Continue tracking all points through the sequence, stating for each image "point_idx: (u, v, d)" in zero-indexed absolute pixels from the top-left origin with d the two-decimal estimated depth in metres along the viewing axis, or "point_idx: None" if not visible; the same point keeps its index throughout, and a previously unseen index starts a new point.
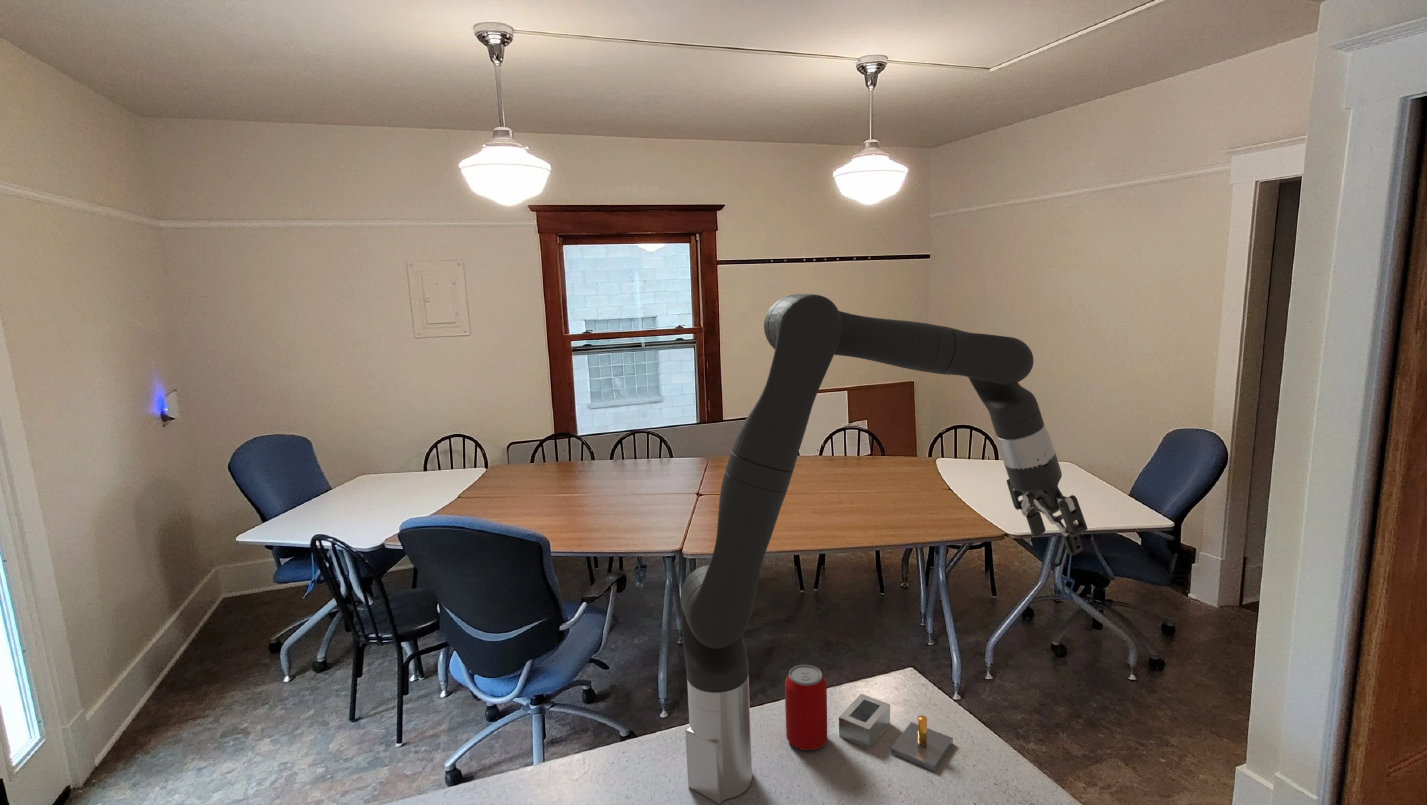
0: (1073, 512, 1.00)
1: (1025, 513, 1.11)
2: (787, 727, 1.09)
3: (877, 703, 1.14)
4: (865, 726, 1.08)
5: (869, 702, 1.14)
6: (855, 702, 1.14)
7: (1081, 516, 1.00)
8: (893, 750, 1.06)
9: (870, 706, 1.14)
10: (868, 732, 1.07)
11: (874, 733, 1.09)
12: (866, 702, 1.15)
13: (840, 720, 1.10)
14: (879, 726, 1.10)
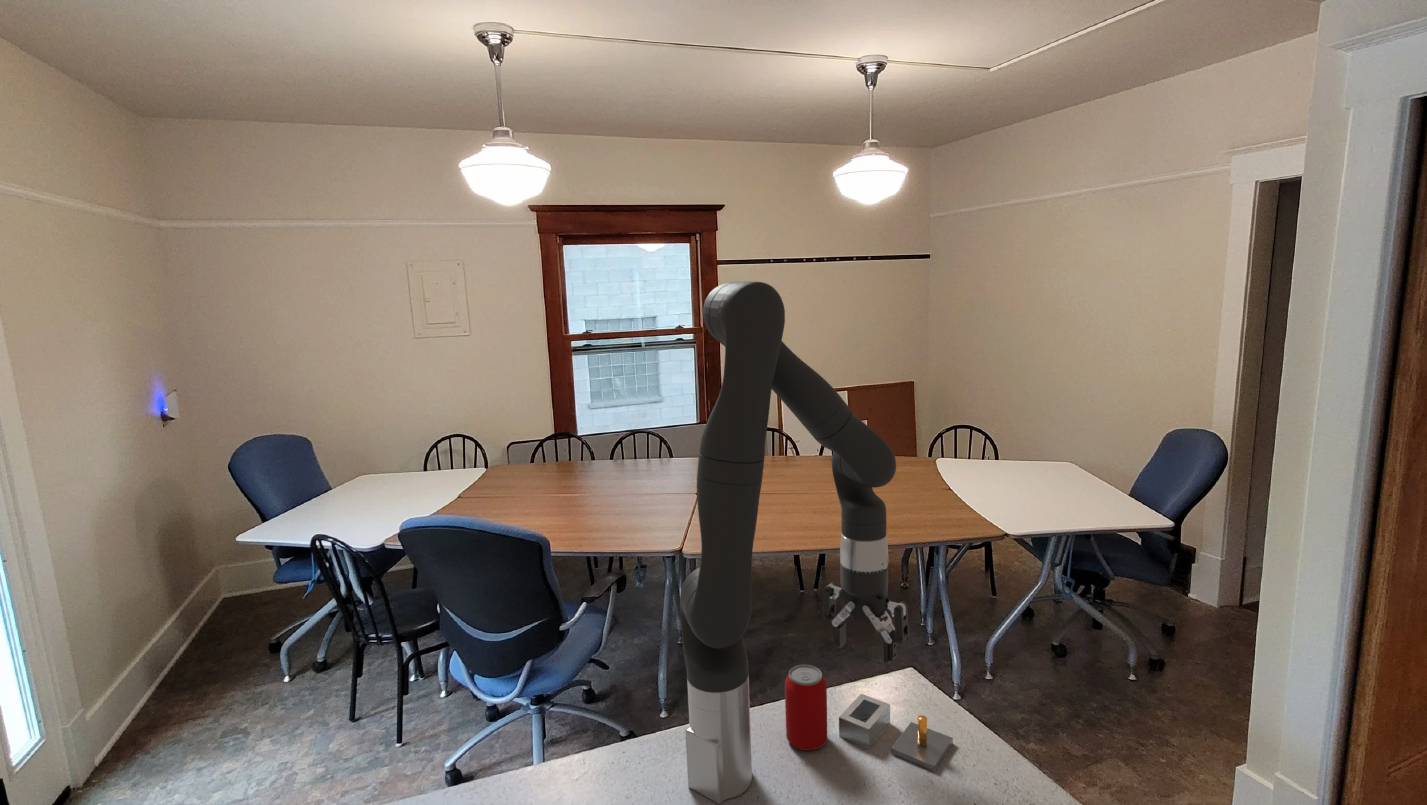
0: None
1: (837, 623, 1.11)
2: (787, 727, 1.09)
3: (877, 703, 1.14)
4: (865, 726, 1.08)
5: (869, 702, 1.14)
6: (855, 702, 1.14)
7: (907, 622, 1.05)
8: (893, 750, 1.06)
9: (870, 706, 1.14)
10: (868, 732, 1.07)
11: (874, 733, 1.09)
12: (866, 702, 1.15)
13: (840, 720, 1.10)
14: (879, 726, 1.10)
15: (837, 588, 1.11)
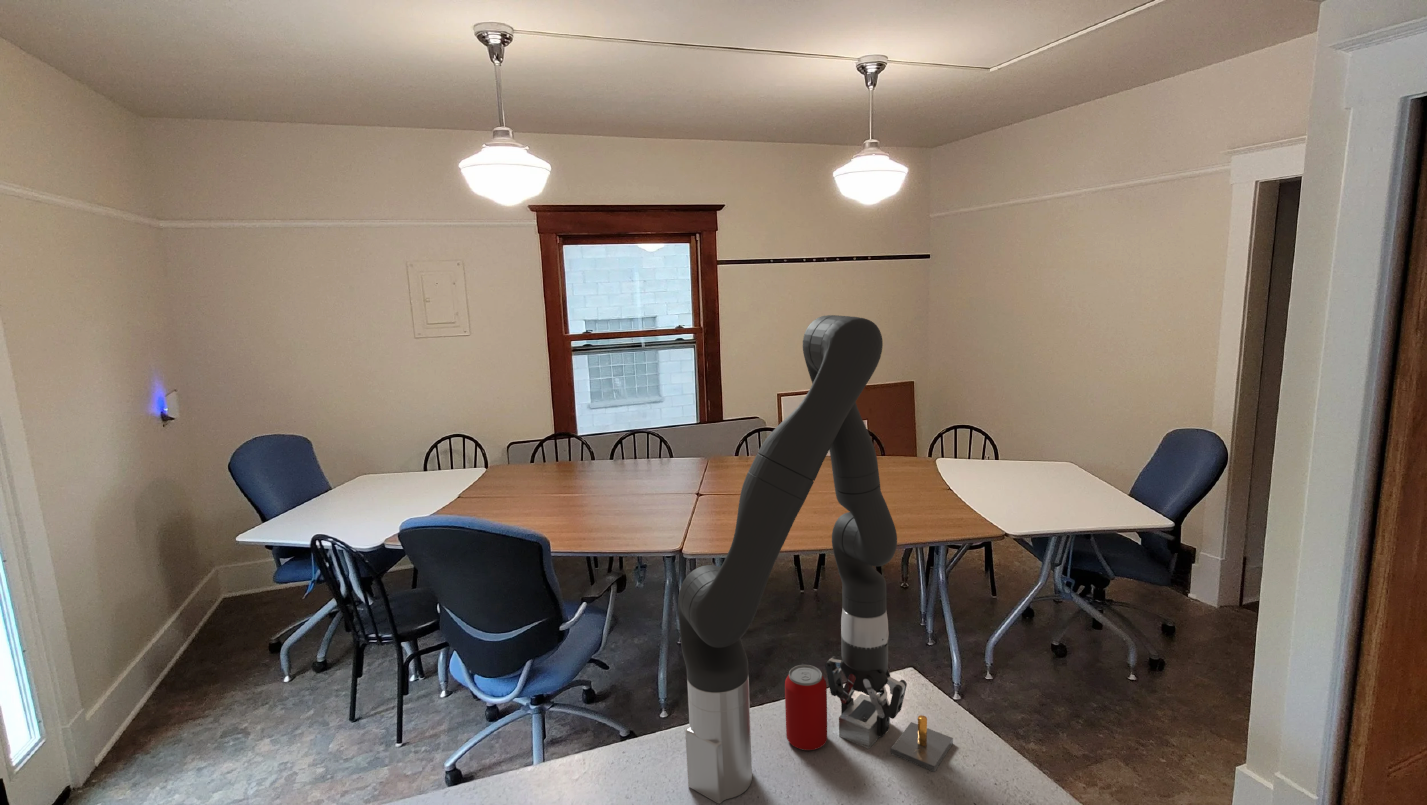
0: None
1: (845, 699, 1.12)
2: (787, 727, 1.09)
3: None
4: (865, 726, 1.08)
5: (869, 702, 1.14)
6: (855, 702, 1.14)
7: (902, 700, 1.08)
8: (893, 750, 1.06)
9: (870, 706, 1.14)
10: (868, 732, 1.07)
11: (874, 733, 1.09)
12: (866, 702, 1.15)
13: (840, 720, 1.10)
14: None
15: (838, 661, 1.13)
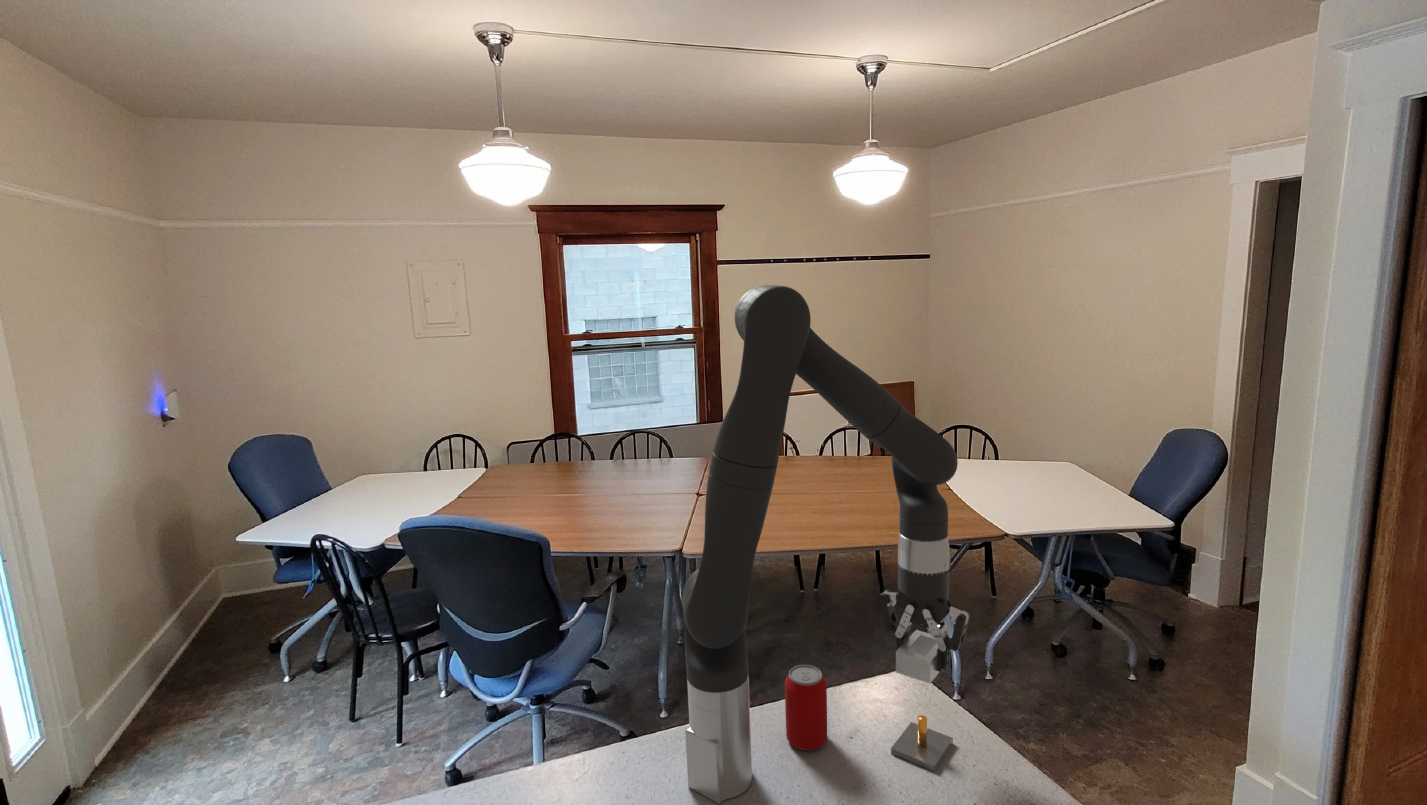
0: None
1: (901, 634, 1.05)
2: (787, 727, 1.09)
3: None
4: (925, 659, 1.00)
5: (926, 637, 1.07)
6: (911, 637, 1.07)
7: (965, 631, 1.00)
8: (893, 750, 1.06)
9: (927, 642, 1.07)
10: (929, 665, 1.00)
11: (934, 667, 1.01)
12: (923, 638, 1.07)
13: (897, 654, 1.03)
14: None
15: (893, 593, 1.06)
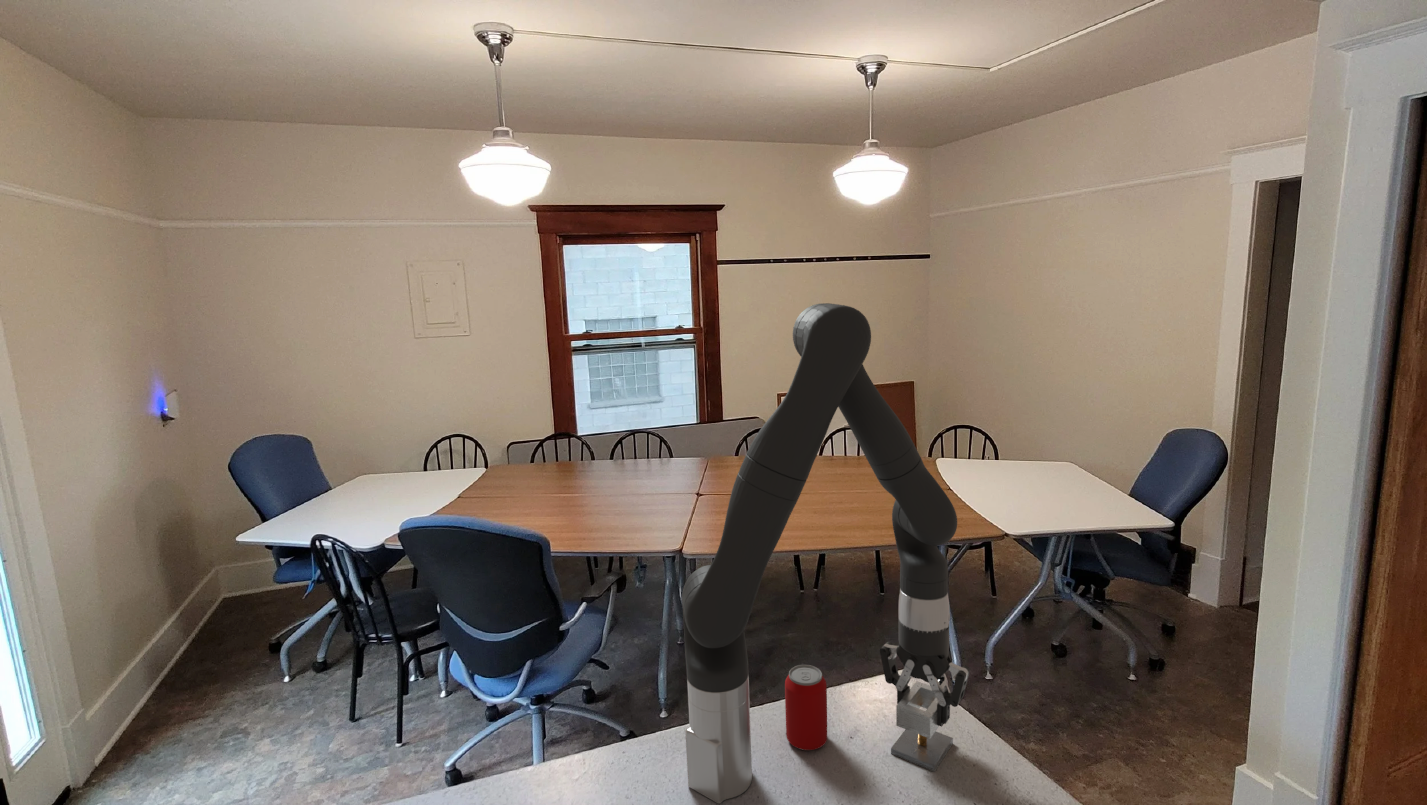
0: None
1: (902, 687, 1.06)
2: (787, 727, 1.09)
3: None
4: (926, 714, 1.02)
5: (926, 690, 1.08)
6: (912, 690, 1.08)
7: (965, 687, 1.02)
8: (893, 750, 1.06)
9: (927, 694, 1.08)
10: (929, 721, 1.01)
11: (934, 722, 1.03)
12: (923, 690, 1.09)
13: (898, 708, 1.04)
14: None
15: (893, 647, 1.07)
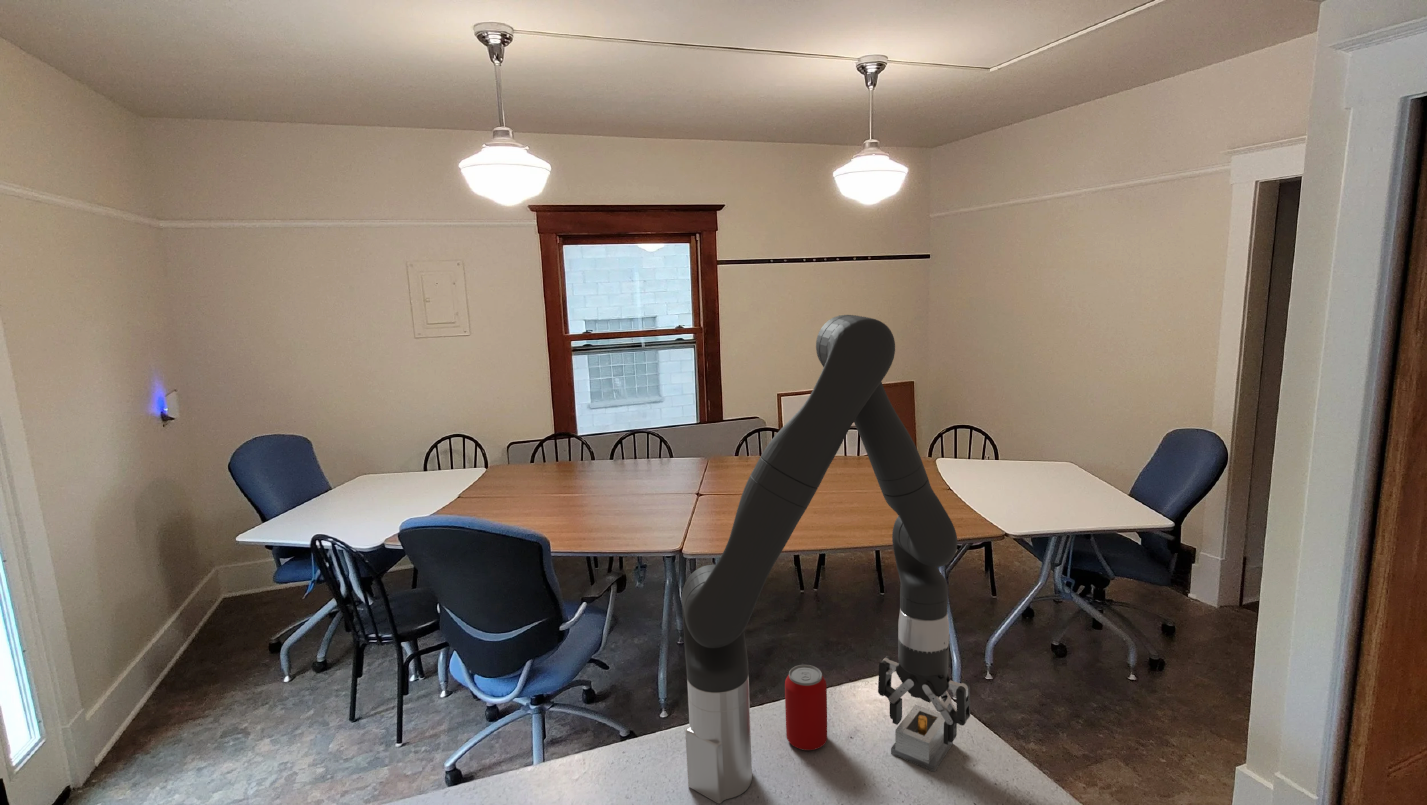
0: None
1: (894, 699, 1.08)
2: (787, 727, 1.09)
3: (934, 715, 1.08)
4: (924, 740, 1.02)
5: (925, 714, 1.09)
6: (910, 714, 1.09)
7: (969, 703, 1.02)
8: (893, 750, 1.06)
9: None
10: (928, 746, 1.02)
11: (933, 747, 1.03)
12: (922, 714, 1.09)
13: (897, 733, 1.05)
14: (937, 740, 1.05)
15: (893, 663, 1.08)
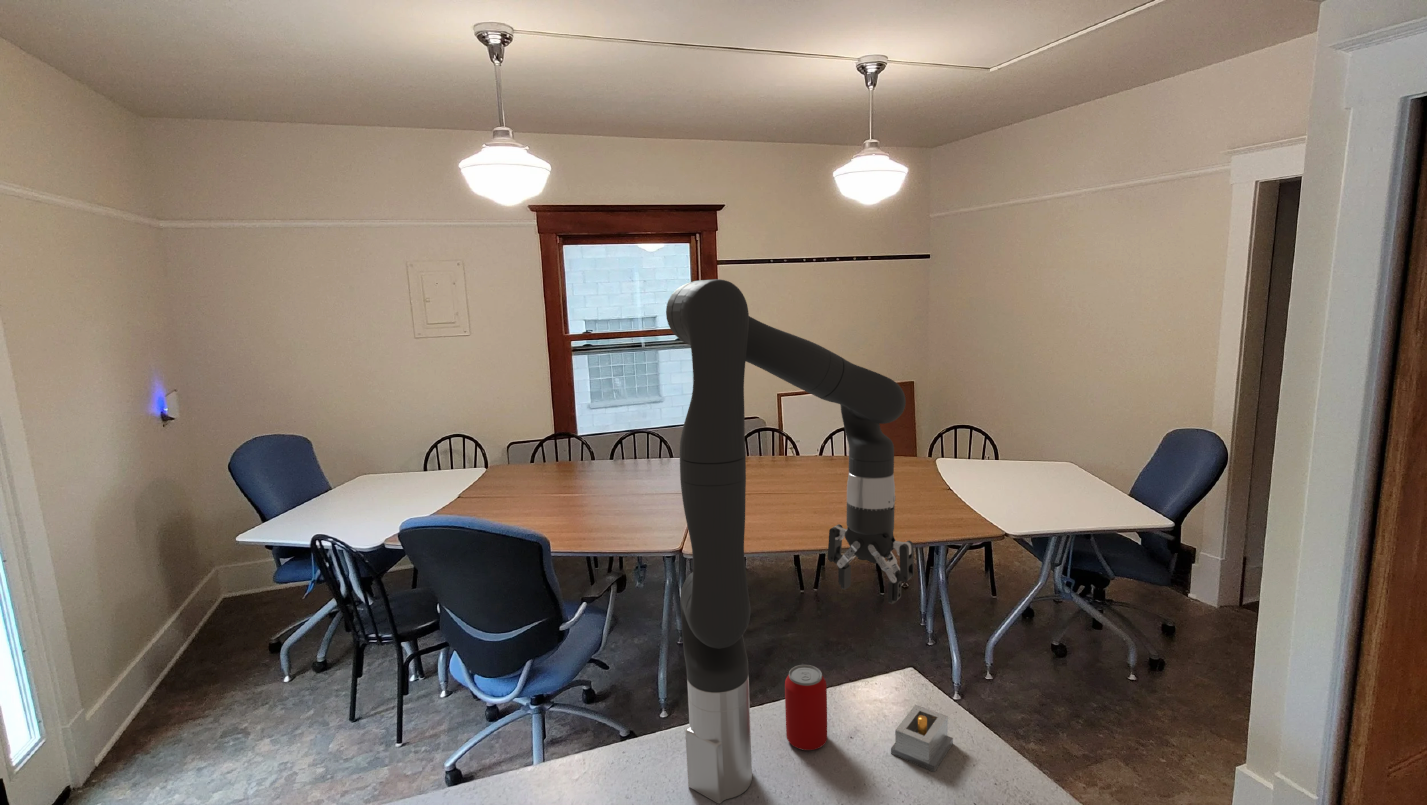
0: (908, 557, 1.04)
1: (842, 564, 1.11)
2: (787, 727, 1.09)
3: (934, 715, 1.08)
4: (924, 740, 1.02)
5: (925, 714, 1.09)
6: (910, 714, 1.09)
7: (913, 562, 1.05)
8: (893, 750, 1.06)
9: None
10: (928, 746, 1.02)
11: (933, 747, 1.03)
12: (922, 714, 1.09)
13: (897, 733, 1.05)
14: (937, 740, 1.05)
15: (843, 529, 1.11)
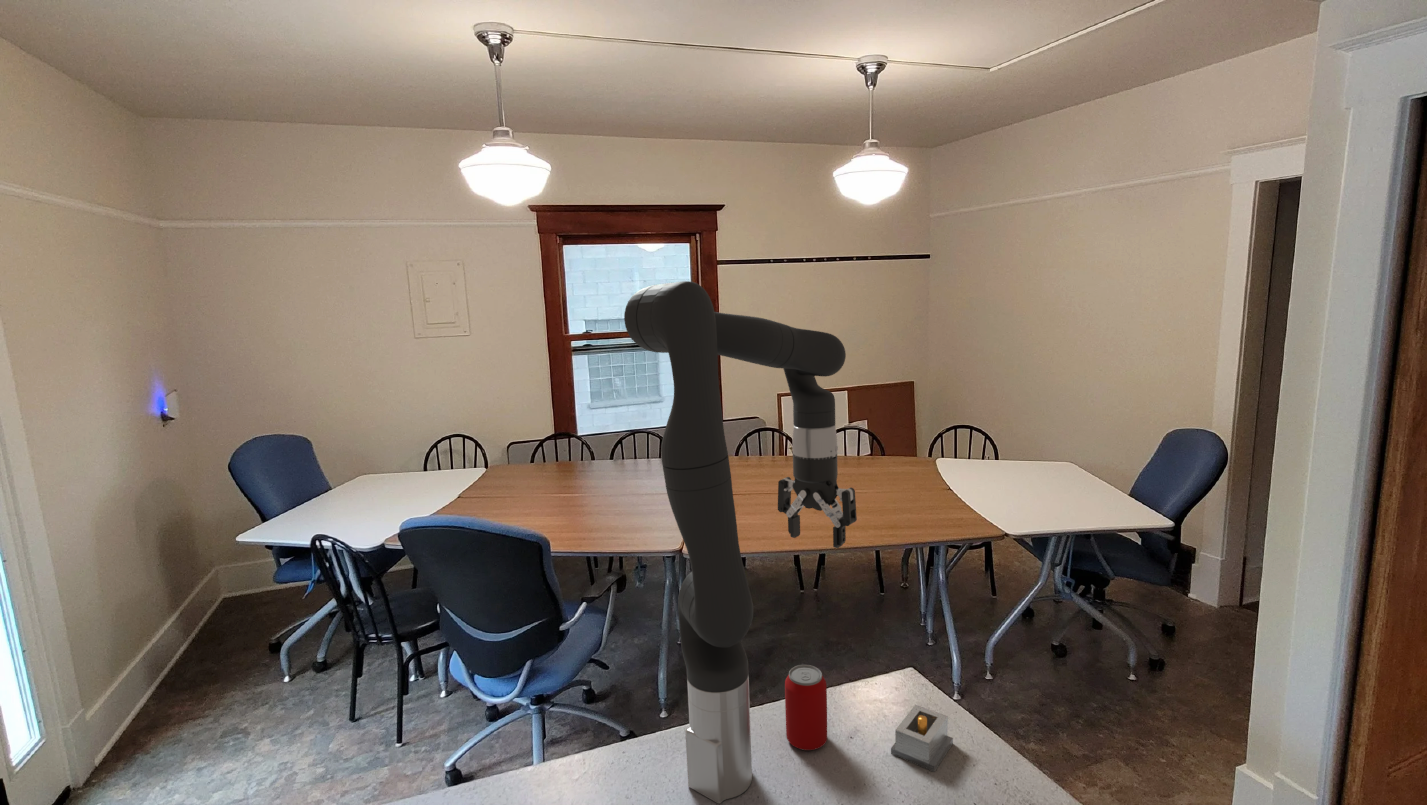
0: (850, 503, 1.11)
1: (791, 513, 1.17)
2: (787, 727, 1.09)
3: (934, 715, 1.08)
4: (924, 740, 1.02)
5: (925, 714, 1.09)
6: (910, 714, 1.09)
7: (855, 507, 1.11)
8: (893, 750, 1.06)
9: None
10: (928, 746, 1.02)
11: (933, 747, 1.03)
12: (922, 714, 1.09)
13: (897, 733, 1.05)
14: (937, 740, 1.05)
15: (791, 481, 1.17)
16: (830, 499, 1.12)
